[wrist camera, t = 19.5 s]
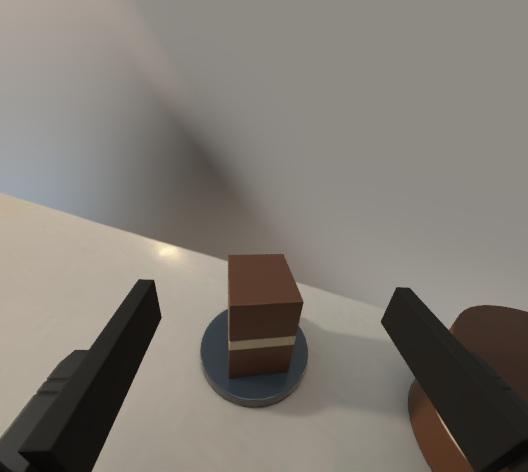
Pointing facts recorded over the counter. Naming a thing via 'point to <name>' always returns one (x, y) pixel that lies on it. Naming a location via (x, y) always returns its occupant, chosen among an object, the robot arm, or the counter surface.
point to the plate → (250, 387)
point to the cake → (490, 350)
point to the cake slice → (261, 314)
